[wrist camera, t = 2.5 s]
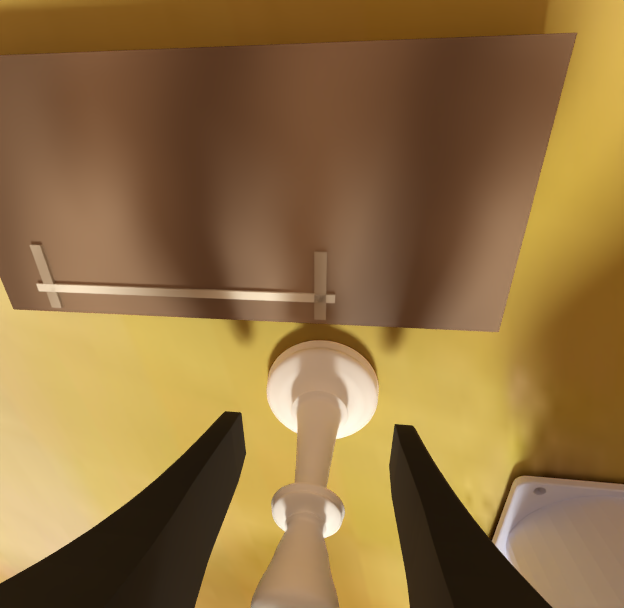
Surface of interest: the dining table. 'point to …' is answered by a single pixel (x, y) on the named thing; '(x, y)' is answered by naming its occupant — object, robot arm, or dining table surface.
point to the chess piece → (312, 465)
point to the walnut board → (277, 178)
